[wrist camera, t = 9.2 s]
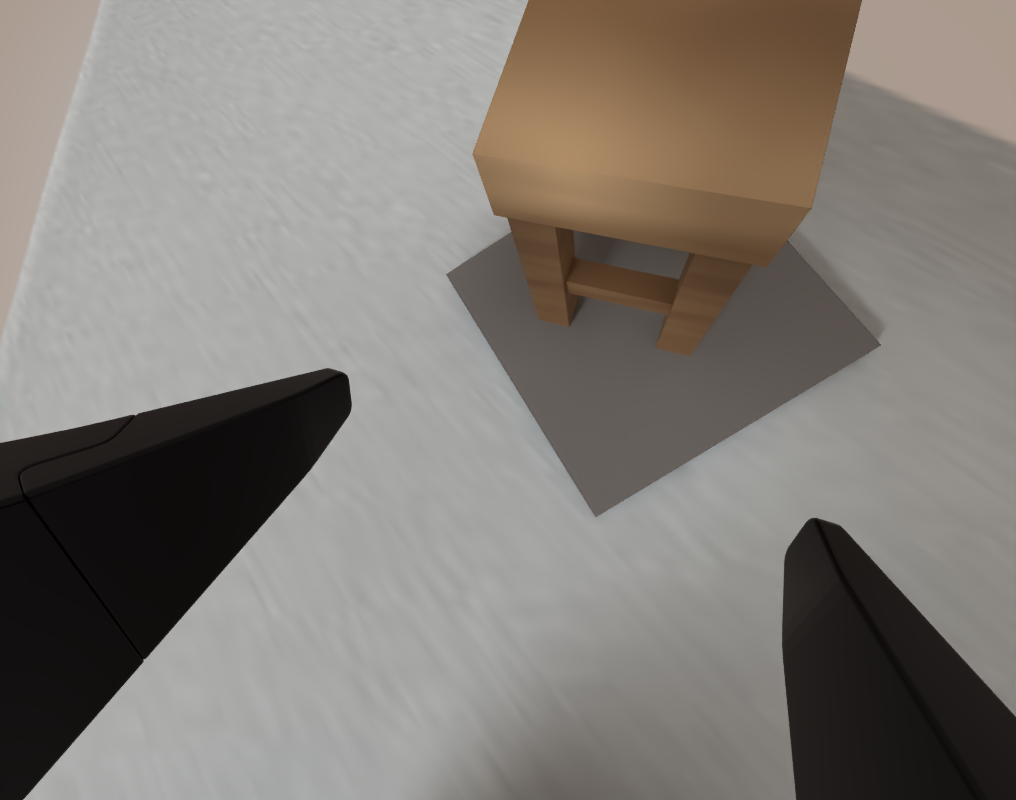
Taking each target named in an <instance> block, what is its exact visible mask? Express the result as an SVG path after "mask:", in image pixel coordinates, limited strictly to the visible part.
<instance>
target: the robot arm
mask: <svg viewBox="0 0 1016 800" xmlns="http://www.w3.org/2000/svg"><path fill="white" fill-rule="evenodd" d="M351 407H352V402H351V394H350V385H349V379H348V376H347V375H346V374H345V373H343V372H340V371H337V370H334V369H330V368H326V369H322V370H318V371H314V372H309V373H305V374H301V375H297V376H293V377H288V378H284V379H280V380H276V381H272V382H268V383H263V384H259V385H255V386H251V387H247V388H243V389H238V390H234V391H230V392H226V393H222V394H218V395H213V396H209V397H205V398H201V399H197V400H193V401H188V402H184V403H180V404H176V405H172V406H168V407H163V408H159V409H155V410H151V411H147V412H142V413H139V414H137V415H136V416H135V415H129V416H125V417H121V418H117V419H113V420H109V421H104V422H100V423H95V424H91V425H87V426H82V427H78V428H73V429H69V430H64V431H59V432H54V433H49V434H44V435H39V436H34V437H29V438H24V439H19V440H13V441H8V442H3V443H0V800H23V799H24V798H25V797H26V796H27V795H28V794H29V793H30V792H31V790H32V789H33V788H34V787H35V786H36V785H37V783H38V782H39V781H40V780H41V779H42V778H43V777H44V775H45V774H46V773H47V772H48V771H49V770H50V769H51V767H52V766H53V765H54V764H55V763H56V762H57V761H58V759H59V758H60V757H61V756H62V755H63V754H64V753H65V751H66V750H67V749H68V748H69V747H70V746H71V744H72V743H73V742H74V741H75V740H76V739H77V738H78V736H79V735H80V734H81V733H82V732H83V731H84V730H85V728H86V727H87V726H88V725H89V724H90V723H91V722H92V720H93V719H94V718H95V717H96V716H97V715H98V713H99V712H100V711H101V710H102V709H103V708H104V707H105V705H106V704H107V703H108V702H109V701H110V700H111V699H112V697H113V696H114V695H115V694H116V693H117V692H118V691H119V689H120V688H121V687H122V686H123V685H124V684H125V683H126V681H127V680H128V679H129V678H130V677H131V676H132V674H133V673H134V672H135V671H136V670H137V669H138V668H139V666H140V665H141V664H142V663H143V661H144V660H143V659H146V658H147V657H148V656H149V655H150V653H151V652H152V651H153V650H154V649H155V648H156V647H157V645H158V644H159V643H160V642H161V641H162V640H163V639H164V637H165V636H166V635H167V634H168V633H169V632H170V631H171V629H172V628H173V627H174V626H175V625H176V624H177V622H178V621H179V620H180V619H181V618H182V617H183V616H184V614H185V613H186V612H187V611H188V610H189V609H190V608H191V606H192V605H193V604H194V603H195V602H196V601H197V600H198V598H199V597H200V596H201V595H202V594H203V593H204V592H205V590H206V589H207V588H208V587H209V586H210V585H211V584H212V582H213V581H214V580H215V579H216V578H217V577H218V575H219V574H220V573H221V572H222V571H223V570H224V569H225V567H226V566H227V565H228V564H229V563H230V562H231V561H232V559H233V558H234V557H235V556H236V555H237V554H238V553H239V551H240V550H241V549H242V548H243V547H244V546H245V545H246V543H247V542H248V541H249V540H250V539H251V538H252V537H253V535H254V534H255V533H256V532H257V531H258V530H259V528H260V527H261V526H262V525H263V524H264V523H265V522H266V520H267V519H268V518H269V517H270V516H271V515H272V514H273V512H274V511H275V510H276V509H277V508H278V507H279V506H280V504H281V503H282V502H283V501H284V500H285V499H286V498H287V496H288V495H289V494H290V493H291V492H292V491H293V490H294V488H295V487H296V486H297V485H298V484H299V483H300V481H301V480H302V479H303V478H304V477H305V476H306V474H307V473H308V472H309V471H310V470H311V468H312V467H313V466H314V464H315V463H316V462H317V460H318V459H319V457H320V456H321V455H322V453H323V452H324V450H325V449H326V447H327V446H328V445H329V443H330V442H331V440H332V439H333V437H334V436H335V435H336V433H337V432H338V430H339V429H340V428H341V426H342V425H343V423H344V422H345V420H346V419H347V418H348V416H349V414H350V412H351ZM782 650H783V664H784V674H785V685H786V695H787V706H788V717H789V727H790V738H791V749H792V759H793V770H794V780H795V791H796V800H1016V717H1015V715H1014V714H1013V713H1012V712H1011V711H1010V710H1009V709H1008V708H1007V707H1006V706H1005V705H1004V703H1003V702H1002V701H1001V700H1000V699H999V698H998V697H997V696H996V695H995V694H994V692H993V691H992V690H991V689H990V688H989V687H988V686H987V685H986V684H985V683H984V682H983V680H982V679H981V678H980V677H979V676H978V675H977V674H976V673H975V672H974V671H973V670H972V668H971V667H970V666H969V665H968V664H967V663H966V662H965V661H964V660H963V659H962V658H961V656H960V655H959V654H958V653H957V652H956V651H955V650H954V649H953V648H952V647H951V646H950V644H949V643H948V642H947V641H946V640H945V639H944V638H943V637H942V636H941V635H940V633H939V632H938V631H937V630H936V629H935V628H934V627H933V626H932V625H931V624H930V623H929V621H928V620H927V619H926V618H925V617H924V616H923V615H922V614H921V613H920V612H919V611H918V609H917V608H916V607H915V606H914V605H913V604H912V603H911V602H910V601H909V600H908V599H907V597H906V596H905V595H904V594H903V593H902V592H901V591H900V590H899V589H898V588H897V587H896V585H895V584H894V583H893V582H892V581H891V580H890V579H889V578H888V577H887V576H886V574H885V573H884V572H883V571H882V570H881V569H880V568H879V567H878V566H877V565H876V564H875V562H874V561H873V560H872V559H871V558H870V557H869V556H868V555H867V554H866V553H865V552H864V550H863V549H862V548H861V547H860V546H859V545H858V544H857V543H856V542H855V541H854V540H853V538H852V537H851V536H850V535H849V534H848V533H847V532H846V531H845V530H844V529H843V528H842V527H841V526H840V525H838V524H835V523H832V522H828V521H825V520H822V519H818V518H811V519H809V520H808V521H807V522H806V523H805V525H804V526H803V527H802V529H801V530H800V532H799V533H798V534H797V536H796V537H795V539H794V540H793V541H792V543H791V544H790V546H789V547H788V549H787V551H786V555H785V561H784V590H783V621H782Z"/></svg>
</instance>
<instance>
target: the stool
mask: <svg viewBox="0 0 1016 800" xmlns="http://www.w3.org/2000/svg"><path fill="white" fill-rule="evenodd" d="M861 2H862V0H529V1H528V4H527V6H526V9H525V12H524V15H523V17H522V20H521V23H520V25H519V28H518V31H517V34H516V36H515V39H514V42H513V45H512V47H511V50H510V53H509V55H508V58H507V61H506V64H505V66H504V69H503V72H502V75H501V77H500V80H499V83H498V85H497V88H496V91H495V94H494V96H493V99H492V102H491V105H490V107H489V110H488V113H487V116H486V118H485V121H484V124H483V126H482V129H481V132H480V135H479V137H478V140H477V143H476V146H475V148H474V151H473V157H474V159H475V162H476V165H477V168H478V171H479V174H480V176H481V179H482V182H483V185H484V188H485V191H486V194H487V196H488V199H489V202H490V205H491V208H492V211H493V213H494V215H497V216H502V217H507V218H508V221H509V225H510V228H511V231H512V234H513V238H514V241H515V244H516V247H517V251H518V254H519V257H520V260H521V264H522V267H523V270H524V273H525V277H526V280H527V283H528V286H529V290H530V293H531V296H532V299H533V303H534V306H535V309H536V312H537V316H538V319H539V320H542V321H547V322H551V323H555V324H559V325H563V326H567V327H569V326H570V323H571V320H572V316H573V313H574V310H575V307H576V304H577V301H578V295H580V296H585V297H589V298H593V299H598V300H602V301H607V302H611V303H616V304H620V305H625V306H629V307H634V308H638V309H642V310H647V311H651V312H656V313H660V314H665V316H664V319H663V323H662V326H661V330H660V333H659V337H658V340H657V344H656V347H655V348H658V349H662V350H666V351H670V352H674V353H679V354H683V355H687V356H690V355H691V354H692V352H693V351H694V349H695V348H696V346H697V345H698V343H699V342H700V341H701V339H702V338H703V336H704V335H705V333H706V332H707V330H708V329H709V328H710V326H711V325H712V323H713V322H714V320H715V319H716V317H717V316H718V315H719V313H720V312H721V310H722V309H723V307H724V306H725V304H726V303H727V301H728V300H729V299H730V297H731V296H732V294H733V293H734V291H735V290H736V288H737V287H738V286H739V284H740V283H741V281H742V280H743V278H744V277H745V275H746V274H747V273H748V271H749V270H750V268H751V267H752V265H757V266H763V267H767V266H768V265H769V264H770V262H771V261H772V260H773V258H774V257H775V256H776V254H777V253H778V252H779V250H780V249H781V248H782V246H783V245H784V244H785V242H786V241H787V240H788V239H789V237H790V236H791V235H792V233H793V232H794V231H795V229H796V228H797V227H798V225H799V224H800V223H801V221H802V220H803V219H804V217H805V216H806V215H807V213H808V212H809V211H810V210H811V208H812V204H813V200H814V196H815V192H816V188H817V183H818V179H819V175H820V171H821V167H822V163H823V159H824V155H825V150H826V146H827V142H828V138H829V134H830V130H831V126H832V122H833V118H834V113H835V109H836V105H837V101H838V97H839V93H840V89H841V85H842V80H843V76H844V72H845V68H846V64H847V60H848V56H849V51H850V47H851V43H852V39H853V35H854V31H855V27H856V23H857V19H858V14H859V10H860V6H861ZM573 230H575V231H580V232H585V233H590V234H596V235H601V236H606V237H611V238H617V239H622V240H627V241H632V242H637V243H643V244H648V245H653V246H658V247H663V248H669V249H674V250H679V251H684V252H690V253H689V256H688V258H687V261H686V263H685V266H684V268H683V271H682V273H681V276H680V278H679V279H674V278H669V277H664V276H660V275H655V274H650V273H645V272H640V271H635V270H630V269H626V268H621V267H616V266H611V265H606V264H601V263H596V262H592V261H587V260H582V259H577V258H575V246H574V233H573Z"/></svg>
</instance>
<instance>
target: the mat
mask: <svg viewBox="0 0 1016 800" xmlns="http://www.w3.org/2000/svg"><path fill="white" fill-rule="evenodd" d="M573 233H574V246H575V258H577V259H582V260H587V261H592V262H596V263H601V264H606V265H611V266H616V267H621V268H626V269H630V270H635V271H640V272H645V273H650V274H655V275H660V276H664V277H669V278H674V279H679V278H680V276H681V273H682V271H683V268H684V266H685V263H686V261H687V258H688V256H689V253H690V252H684V251H679V250H674V249H669V248H663V247H658V246H653V245H648V244H643V243H637V242H632V241H627V240H622V239H617V238H611V237H606V236H601V235H596V234H590V233H585V232H580V231H575V230H573ZM446 275H447V277H448V278H449V280H450V281H451V283H452V285H453V286H454V288H455V289H456V291H457V293H458V294H459V296H460V298H461V299H462V301H463V302H464V304H465V306H466V307H467V309H468V311H469V312H470V314H471V315H472V317H473V319H474V320H475V322H476V324H477V325H478V327H479V328H480V330H481V332H482V333H483V335H484V337H485V338H486V340H487V341H488V343H489V345H490V346H491V348H492V350H493V351H494V353H495V354H496V356H497V358H498V359H499V361H500V363H501V364H502V366H503V367H504V369H505V371H506V372H507V374H508V376H509V377H510V379H511V380H512V382H513V384H514V385H515V387H516V389H517V390H518V392H519V393H520V395H521V397H522V398H523V400H524V402H525V403H526V405H527V406H528V408H529V410H530V411H531V413H532V415H533V416H534V418H535V419H536V421H537V423H538V424H539V426H540V428H541V429H542V431H543V432H544V434H545V436H546V437H547V439H548V441H549V442H550V444H551V445H552V447H553V449H554V450H555V452H556V454H557V455H558V457H559V458H560V460H561V462H562V463H563V465H564V467H565V468H566V470H567V471H568V473H569V475H570V476H571V478H572V480H573V481H574V483H575V484H576V486H577V488H578V489H579V491H580V493H581V494H582V496H583V497H584V499H585V501H586V502H587V504H588V506H589V507H590V509H591V510H592V512H593V514H594V515H595V517H597V516H598V515H600V514H602V513H603V512H605V511H607V510H608V509H610V508H611V507H613V506H615V505H616V504H618V503H620V502H621V501H623V500H625V499H626V498H628V497H630V496H631V495H633V494H635V493H636V492H638V491H640V490H641V489H643V488H645V487H646V486H648V485H650V484H651V483H653V482H655V481H656V480H658V479H660V478H661V477H663V476H665V475H666V474H668V473H670V472H671V471H673V470H675V469H676V468H678V467H680V466H681V465H683V464H685V463H686V462H688V461H690V460H691V459H693V458H695V457H696V456H698V455H699V454H701V453H703V452H704V451H706V450H708V449H709V448H711V447H713V446H714V445H716V444H718V443H719V442H721V441H723V440H724V439H726V438H728V437H729V436H731V435H733V434H734V433H736V432H738V431H739V430H741V429H743V428H744V427H746V426H748V425H749V424H751V423H753V422H754V421H756V420H758V419H759V418H761V417H763V416H764V415H766V414H768V413H769V412H771V411H773V410H774V409H776V408H778V407H779V406H781V405H783V404H784V403H786V402H788V401H789V400H791V399H792V398H794V397H796V396H797V395H799V394H801V393H802V392H804V391H806V390H807V389H809V388H811V387H812V386H814V385H816V384H817V383H819V382H821V381H822V380H824V379H826V378H827V377H829V376H831V375H832V374H834V373H836V372H837V371H839V370H841V369H842V368H844V367H846V366H847V365H849V364H851V363H852V362H854V361H856V360H857V359H859V358H861V357H862V356H864V355H866V354H867V353H869V352H871V351H872V350H874V349H876V348H877V347H879V346H881V344H880V343H879V342H878V341H877V340H876V339H875V338H874V336H873V335H872V334H871V333H870V332H869V331H868V330H867V329H866V328H865V326H864V325H863V324H862V323H861V322H860V321H859V320H858V319H857V318H856V316H855V315H854V314H853V313H852V312H851V311H850V310H849V309H848V308H847V306H846V305H845V304H844V303H843V302H842V301H841V300H840V299H839V298H838V296H837V295H836V294H835V293H834V292H833V291H832V290H831V289H830V288H829V286H828V285H827V284H826V283H825V282H824V281H823V280H822V279H821V278H820V276H819V275H818V274H817V273H816V272H815V271H814V270H813V269H812V268H811V266H810V265H809V264H808V263H807V262H806V261H805V260H804V259H803V258H802V256H801V255H800V254H799V253H798V252H797V251H796V250H795V249H794V248H793V246H792V245H791V244H790V243H789V242H788V241H786V242H785V244H784V245H783V246H782V248H781V249H780V250H779V252H778V253H777V254H776V256H775V257H774V258H773V260H772V261H771V262H770V264H769V265H768V266H767V267H763V266H757V265H752V267H751V268H750V270H749V271H748V273H747V274H746V275H745V277H744V278H743V280H742V281H741V283H740V284H739V286H738V287H737V288H736V290H735V291H734V293H733V294H732V296H731V297H730V299H729V300H728V301H727V303H726V304H725V306H724V307H723V309H722V310H721V312H720V313H719V315H718V316H717V317H716V319H715V320H714V322H713V323H712V325H711V326H710V328H709V329H708V330H707V332H706V333H705V335H704V336H703V338H702V339H701V341H700V342H699V343H698V345H697V346H696V348H695V349H694V351H693V352H692V354H691V355H690V356H687V355H683V354H679V353H674V352H670V351H666V350H662V349H658V348H655V347H656V344H657V340H658V337H659V333H660V330H661V326H662V323H663V319H664V316H665V314H660V313H656V312H651V311H647V310H642V309H638V308H634V307H629V306H625V305H620V304H616V303H611V302H607V301H602V300H598V299H593V298H589V297H585V296H580V295H578V301H577V304H576V307H575V310H574V313H573V316H572V320H571V323H570V326H569V327H567V326H563V325H559V324H555V323H551V322H547V321H542V320H539V319H538V316H537V312H536V309H535V306H534V303H533V299H532V296H531V293H530V290H529V286H528V283H527V280H526V277H525V273H524V270H523V267H522V264H521V260H520V257H519V254H518V251H517V247H516V244H515V241H514V238H513V234H512V232H511V233H510V234H508V235H507V236H505V237H504V238H502V239H500V240H499V241H497V242H496V243H494V244H493V245H491V246H490V247H488V248H486V249H485V250H483V251H482V252H480V253H479V254H477V255H476V256H474V257H472V258H471V259H469V260H468V261H466V262H465V263H463V264H462V265H460V266H458V267H457V268H455V269H454V270H452V271H451V272H449V273H448V274H446Z"/></svg>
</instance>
